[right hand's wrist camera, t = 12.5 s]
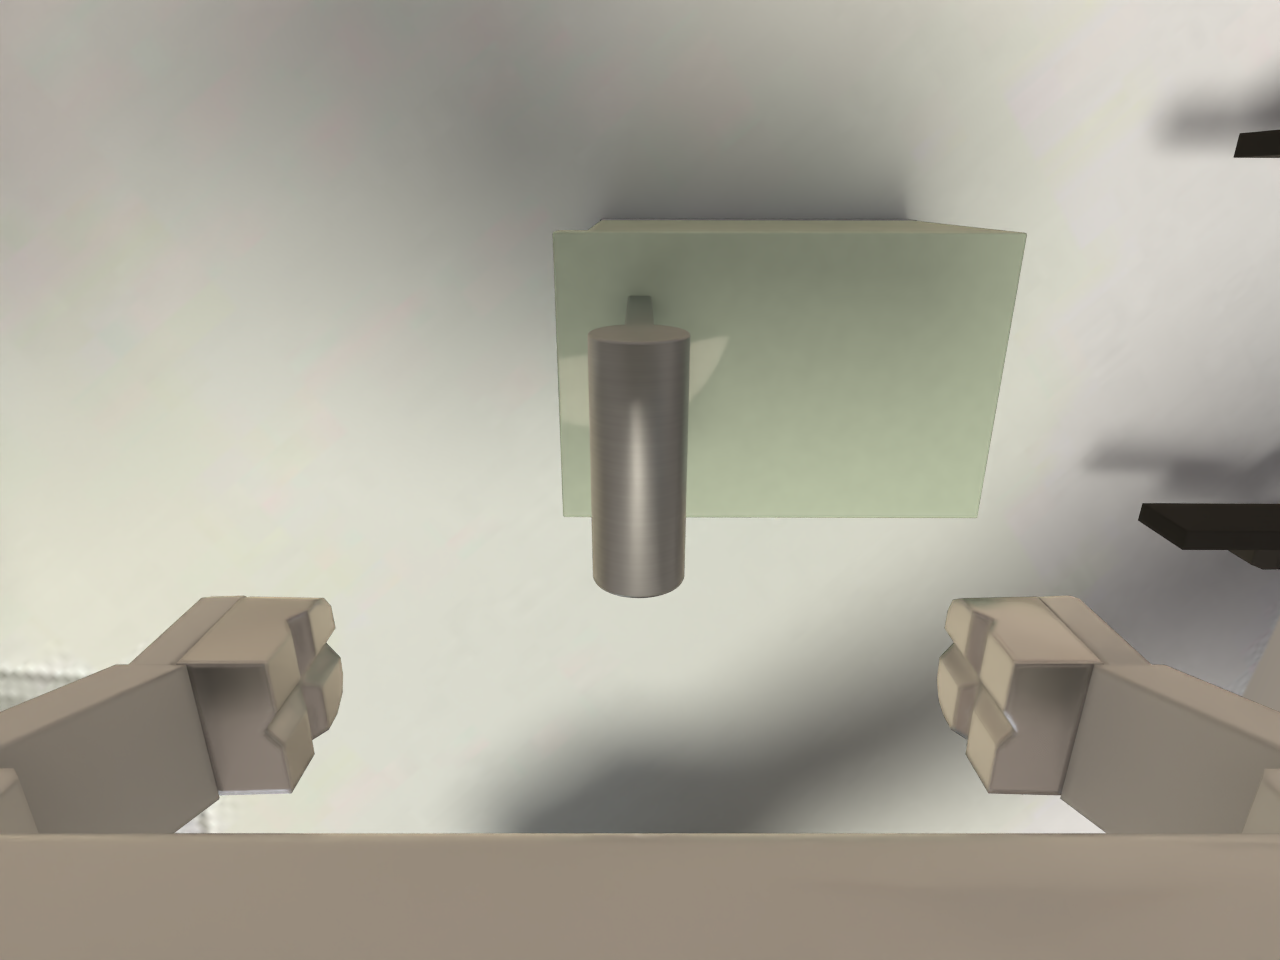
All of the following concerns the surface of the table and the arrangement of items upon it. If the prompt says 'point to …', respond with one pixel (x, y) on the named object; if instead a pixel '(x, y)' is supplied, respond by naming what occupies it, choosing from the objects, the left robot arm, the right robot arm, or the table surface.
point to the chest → (778, 225)
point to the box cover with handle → (772, 380)
